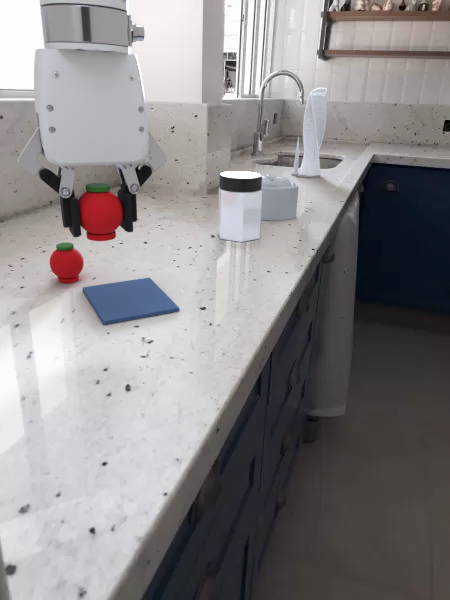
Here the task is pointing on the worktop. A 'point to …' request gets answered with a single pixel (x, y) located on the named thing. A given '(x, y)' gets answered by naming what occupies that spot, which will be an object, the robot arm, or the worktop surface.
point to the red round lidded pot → (100, 212)
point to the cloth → (128, 300)
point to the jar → (239, 206)
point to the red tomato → (66, 263)
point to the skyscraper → (312, 135)
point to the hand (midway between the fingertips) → (101, 229)
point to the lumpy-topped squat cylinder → (278, 198)
